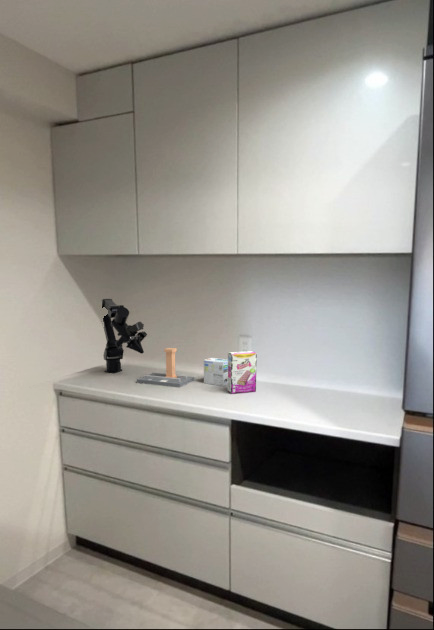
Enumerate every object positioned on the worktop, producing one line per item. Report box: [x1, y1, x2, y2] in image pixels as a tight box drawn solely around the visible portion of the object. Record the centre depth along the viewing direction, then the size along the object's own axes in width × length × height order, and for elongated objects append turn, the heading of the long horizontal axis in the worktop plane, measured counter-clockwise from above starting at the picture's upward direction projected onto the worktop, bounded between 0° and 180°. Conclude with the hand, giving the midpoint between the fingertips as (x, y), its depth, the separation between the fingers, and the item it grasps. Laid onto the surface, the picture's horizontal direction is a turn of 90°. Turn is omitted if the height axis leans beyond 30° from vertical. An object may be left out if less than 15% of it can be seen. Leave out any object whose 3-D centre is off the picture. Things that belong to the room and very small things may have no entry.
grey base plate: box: [136, 371, 195, 388], centre depth 197 cm, size 22×14×3 cm, turn 66°
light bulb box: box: [203, 357, 228, 387], centre depth 193 cm, size 11×7×11 cm, turn 58°
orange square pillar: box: [163, 347, 178, 378], centre depth 195 cm, size 4×4×13 cm
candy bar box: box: [227, 350, 258, 395], centre depth 178 cm, size 11×5×16 cm, turn 109°
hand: (142, 352), depth 201 cm, fingers closed
